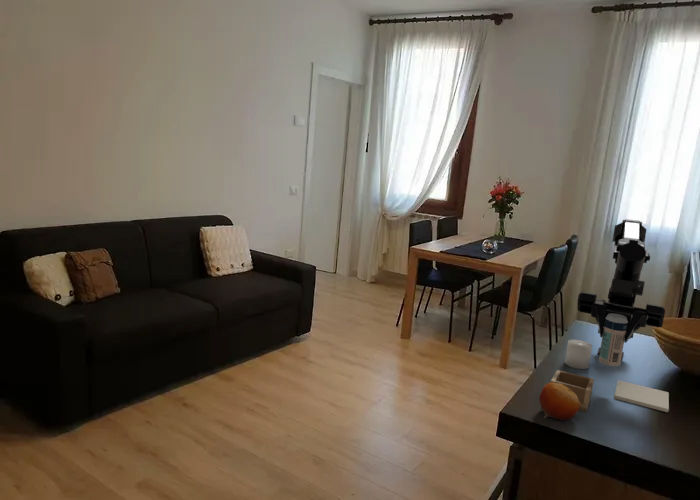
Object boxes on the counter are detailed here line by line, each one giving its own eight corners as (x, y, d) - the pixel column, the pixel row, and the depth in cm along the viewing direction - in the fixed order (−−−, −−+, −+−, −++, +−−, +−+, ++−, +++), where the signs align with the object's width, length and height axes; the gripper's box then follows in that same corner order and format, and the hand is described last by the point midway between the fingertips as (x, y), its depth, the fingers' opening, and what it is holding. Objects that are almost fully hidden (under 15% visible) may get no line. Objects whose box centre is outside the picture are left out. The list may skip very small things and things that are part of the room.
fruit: (524, 398, 118) (548, 370, 117) (553, 418, 119) (576, 391, 118) (536, 416, 110) (561, 386, 109) (566, 437, 111) (591, 408, 110)
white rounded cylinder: (566, 358, 150) (569, 338, 149) (590, 364, 147) (593, 343, 146) (563, 365, 145) (566, 343, 144) (587, 370, 142) (590, 349, 141)
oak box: (554, 389, 128) (557, 369, 127) (590, 399, 124) (594, 379, 123) (547, 401, 121) (551, 380, 120) (586, 412, 117) (589, 390, 116)
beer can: (622, 364, 129) (631, 316, 127) (616, 369, 126) (624, 320, 123) (602, 358, 132) (610, 311, 130) (595, 363, 129) (603, 314, 127)
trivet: (617, 383, 135) (618, 380, 135) (668, 395, 130) (668, 392, 130) (613, 398, 126) (614, 395, 125) (668, 412, 120) (668, 409, 120)
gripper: (584, 259, 133) (570, 312, 125) (672, 273, 123) (662, 331, 116) (584, 285, 141) (571, 336, 133) (666, 299, 132) (657, 355, 124)
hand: (613, 339), depth 127 cm, fingers closed on beer can, 5 cm apart
